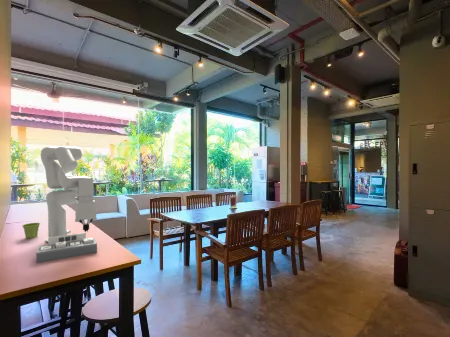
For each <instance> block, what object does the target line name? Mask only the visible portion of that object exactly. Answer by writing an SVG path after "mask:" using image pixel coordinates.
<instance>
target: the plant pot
mask: <svg viewBox="0 0 450 337" xmlns="http://www.w3.org/2000/svg"><path fill="white" fill-rule="evenodd" d="M40 225H41V223H40V222H31V223H25V224H22V228H23V230H24V231H23V232H24V237H25V239H27V240H28V239H34V238H37V237H38V232H39V227H40Z"/></svg>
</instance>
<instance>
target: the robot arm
mask: <svg viewBox="0 0 450 337" xmlns="http://www.w3.org/2000/svg"><path fill="white" fill-rule="evenodd" d="M82 158H83V153H82V150H81V149H80V148H79V147H78V146H69V145H68V146H67V145H66V146H65V145H63V146H46V147H42V149H41V150H40V159H41V160H40V161H41V162H42V165H43V166H44V169H45V176H46V177H45V178H46V184H47V187H48V189H49V190H53V191H50V192H47V194H46V197H45V200H46V205H47V212H48V213H47V214H48V215H47V217H48V218H47V223H48V225H47V226H48V232H47V234H48V235H47V236H48V237H55V236H63V235H69V234H70V233H71V230H70V229H68V230H67V212H66V209H65V208H64V207H63V206H66V205H72V204H75V219H74V222H75V223H79V224H82V231H84V233H85V232H86V233H87V232H89V230H90V224H91V223H92V222H93V221H96V220H97V205H96V200H94V179H93V177H92V176H86V175H76V176H74V175H73V174H70V172H72V171H75V170H76V169H77V167H78V166H79V165H78V161H79V160H81V159H82ZM58 162H59V163H58ZM61 189H63V190H61ZM85 220H87V221H86V222H85ZM48 237H46V238H45V242H46V243H48Z"/></svg>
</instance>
